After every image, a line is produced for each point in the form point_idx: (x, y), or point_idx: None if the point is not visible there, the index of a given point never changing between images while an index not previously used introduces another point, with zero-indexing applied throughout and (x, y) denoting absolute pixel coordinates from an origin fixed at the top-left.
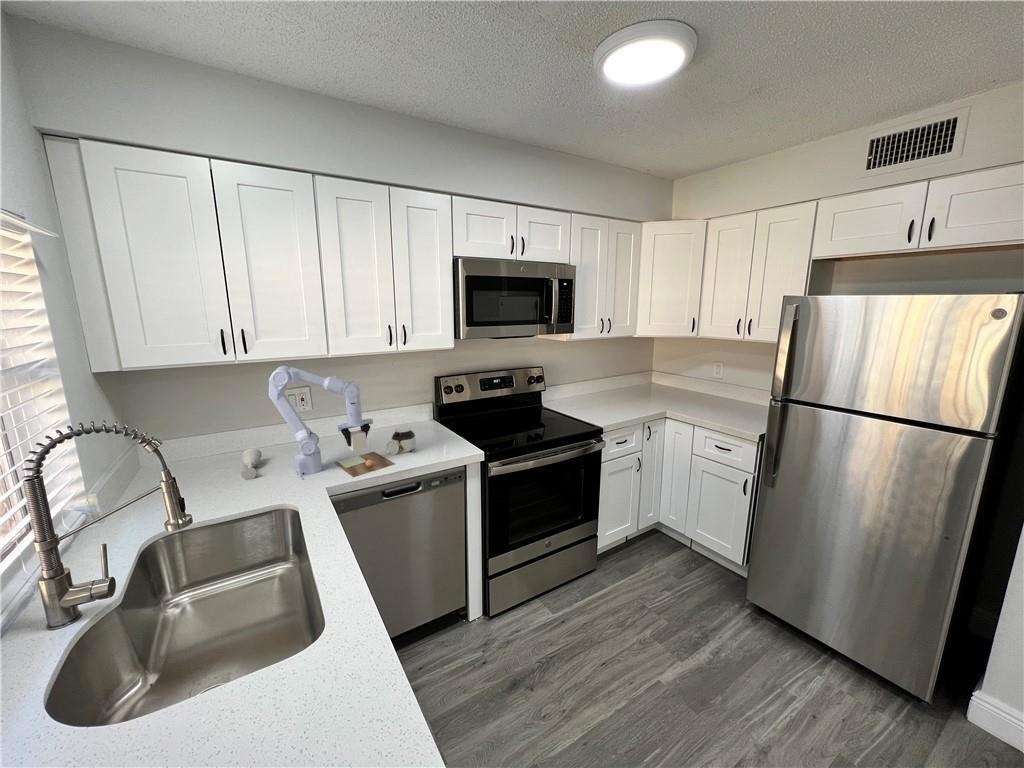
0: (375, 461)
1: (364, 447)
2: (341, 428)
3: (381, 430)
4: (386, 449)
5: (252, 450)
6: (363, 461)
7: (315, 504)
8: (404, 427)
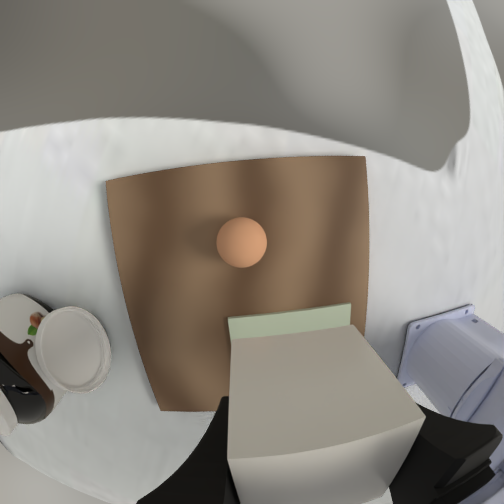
0: (186, 294)
1: (253, 342)
2: (496, 485)
3: (118, 497)
4: (103, 374)
5: None
6: (246, 329)
7: (480, 83)
8: None
